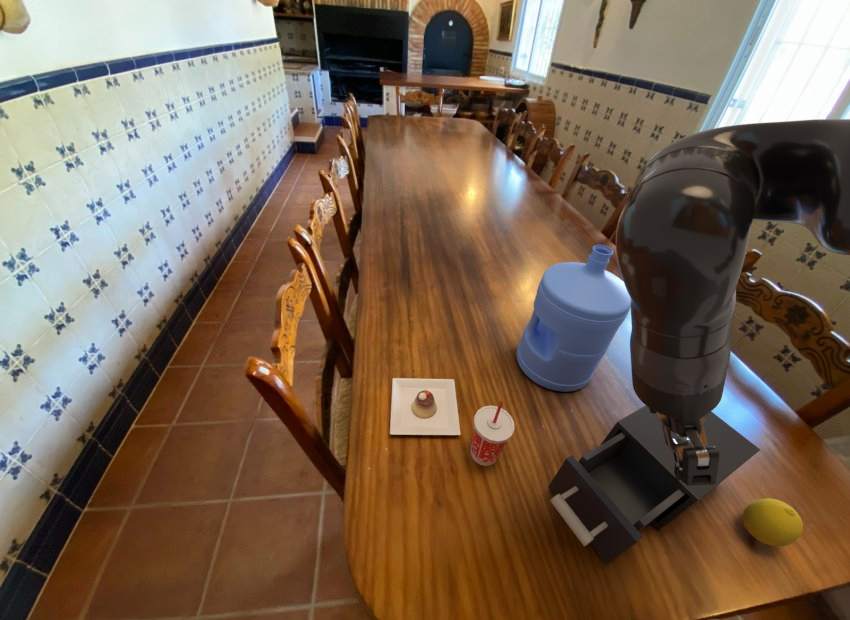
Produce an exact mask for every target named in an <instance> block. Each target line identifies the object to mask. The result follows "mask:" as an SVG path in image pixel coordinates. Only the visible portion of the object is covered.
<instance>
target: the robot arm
mask: <svg viewBox="0 0 850 620" xmlns="http://www.w3.org/2000/svg"><path fill="white" fill-rule="evenodd" d="M753 221H761V222H773V223H774V222H775V223H786V224H787V223H788V224H795V225H800V226H802V227H805V228H806V229H807V230H808V231H809V232H810V233H811V234H812V236H813V238H814V239H815V241H816V242H817V243H818V244H819V245H820V246H821V247H822V248H823V249H824V250H826V251H829V252H831V253H834V254H838V255H842V256H844V255H845V256H850V118H846V119H845V118H835V119H834V118H832V119H831V118H829V119H827V118H826V119H819V118H818V119H802V120H785V121H769V122H756V123H755V122H754V123H743V124H734V125H728V126H721V127H715V128H709V129H706V130H702V131H699V132H696V133H692V134H689V135H687V136H684V137H681V138H678V139H677V140H674V141H673V142H670V143H668V144H667V145H665V146H663V147H662V148H661V149H659V150H658V151H656V152H654V154H653V155H652V156H651V157H649V159H648V160H647V161H646V162H645V163H644V165H643V166H642V168H641V169H640V171H639V173H638V175H637V177H636V179H635V182H634V184H633V185H632V188H631V191H630V193H629V196H628V197H627V199H626V202H625V203H624V206H623V208H622V211H621V212H620V214H619V217H618V221H617V225H616V231H615V258H616V262H617V266H618V270H619V273H620V275H621V280H622V281H623V282H624V284H625V287H626V290H627V292H628V294H629V296H630V298H631V307H630V322H631V332H630V338H629V354H630V369H631V370H630V371H631V379H632V380H631V383H632V389H633V391H634V393H635V395H636V396H637V398H638V399H639V400H640V401H641V402H642V403H643V405H644V406H647V407H649V410H650V412H651V413H652V414H655V413H656V414H657V418H658V420H659V421H660V423H661V424H662V429H663V433H664V438H665V442H666V444H667V446H668V447H669V449H670V450H671V451H673V454H674V458H675V469H674V474H675V476H676V479H677V480H682V483H685V484H686V486H692V485H715V484H716V478H717V472H718V465H719V452H718V450H717V449H716V448H715V446H708V445H707V440H706V436H705V431H704V427H703V422H704V421H705V418H704V416H705V415H706V414H708V413H709V412H711V411H712V412H713V410H715V409H716V408H717V407H718V405H719V404H720V403H721V401H722V399H723V394H724V389H725V384H726V379H727V374H728V370H729V364H730V360H731V359H730V358H731V352H732V341H731V333H732V327H733V323H734V318H735V312H736V304H737V286H738V283H739V280H740V277H741V274H742V269H743V267H744V262H745V259H746V254H747V251H748V246H749V242H750V238H751V233H752V226H753ZM671 431H672V432H673V433H675V434H677V435H679V436H681V437H686V438H680V439H673V438H672V433H671ZM681 452H682V455H683V458H682V455H681Z"/></svg>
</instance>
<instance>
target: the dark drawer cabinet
mask: <svg viewBox="0 0 850 620" xmlns="http://www.w3.org/2000/svg"><path fill="white" fill-rule="evenodd" d="M704 418H705V421H704V422H703V427H704V431H705V436H706V440H707V445H708V446H715V448H716V449H717V450H718V452H719V465H718V472H717V478H716V484H715V485H692V486H686V484H685V483H682V480H677V479H676V476H675V474H674V469H675V458H674V454H673V451H671V450H670V449H669V447H668V446H667V444H666V442H665V438H664V433H663V429H662V424H661V423H660V421H659V420H658V418H657V414H656V413H655V414H652V413H651V412H650V410H649V407H647V406H646V405H644V406H642V407H640V408H638V409H637V410H635V411H633V412H632V413H630V414H628V415H626V416H625V417H623V418H621V419H619V420H617V422H616V423H615V424H614V425H613V426H612V428H611V429H610V431H609V432H608V434H607V435H606V436H605V438H604V439H603V441H602V442H601V443H600V445H602V444H603V443H605V442H607V441H608V440H610V439H612V438H613V437H615V436H617V435H618V434H620V433H622V432H624V433H625V434H626V435H627V436H628V437H629V438H630V439H631V440H632V441H633V442H634V443H635V444H636V445H637V446H638V447H639V448H640V449H641V450H642V451H643V452H644V453H645V454H647V455H648V456H649V457H650V458H651V459H652V460H653V461H654V462H655V463H656V464H657V465H658V466H659V467H660V468H661V469H662V470H663V471H664V472H665V473H666V474H667V475H668V476H669V477H670V478H671V479H672V480H673V481H674V482H675V483H676V484H677V485H678V486H679V487H680V488H681V489H682V490H683V491H684V492H685V493H686V494H685V495H684V496H683V497H682V498H680V499H679V500H678V501H677V502H675V503H674V504H673V505H672V506H670V507H669V508H668V509H667V510H665V511H664V512H663V513H662V514H660V515H659V516H658V517H656V518H655V519H654V520H653V521H651V522H650V523H651V524H652V525H653V526H654V527H655V529H656V530H657V531H658V532H659V531H661V530H662V529H663V528H665V527H666V526H667V525H668V524H669V523H671V522H673V521H674V520H675V519H677V518H678V517H679V516H680V515H682V514H683V513H685V512H686V511H687V510H688V509H689V508H691V507H692V506H694V505H695V504H696V503H697V502H699V501H701V499H703V498H704V497H705V496H706V495H707V494H709V493H711V491H713V489H715V488H716V487H717V486H718V485H720V484H721V483H722V482H723V481H724V480H726V479H727V478H728V477H729V476H730V475H732V474H733V473H734V472H736V471H737V470H738V469H739V468H740V467H741V466H743V465H744V464H745V463H746V462H748V461H749V460H750V459H751V458H753V457H754V456H755V455H757V453H758V452H760V451H761V448H759V447H758V446H757V445H755V444H754V443H753V442H752V441H750V440H749V439H748V438H747V437H745V436H744V435H742V434H741V433H740V432H739V431H737V430H736V429H735V428H733V427H732V426H731V425H730V424H728V423H727V422H726V421H724V420H723V419H722V418H721V417H719V416H718V415H717V414H716V413H714V412H713V410H712V411H711V412H709V413H708V414H706V415H705V416H704ZM671 433H672V438H673V439H680V438H686V437H681V436H679V435H677V434H675V433H673V432H672V431H671ZM681 455H682V452H681ZM682 458H683V455H682Z"/></svg>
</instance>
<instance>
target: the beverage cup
mask: <svg viewBox="0 0 850 620" xmlns="http://www.w3.org/2000/svg"><path fill="white" fill-rule="evenodd" d="M503 404H504V402H503V401H499V402H498V405H497V406H496V405H485V406H482V407H480V408H478V409H477V412H476V413H475V415H474V418H473V433H472V438H471V444H470V456H471V458H472V459H473V461H474V462H475V463H477V464H478V465H480V466H484V467H489V466H492V465H494V464H495V463H496V462H497V460H498V458H499V457H500V454H501V453H502V451H503V449H504V447H505V445H507V444H506V443H507V442H508V441H509V440H510V439H511V438H512V436H513V434H514V431H515V422H514V420H513V417H512V415H511V414H510V413H509V412H508V411H507V410H505V409H504V408H502V407H503Z"/></svg>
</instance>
